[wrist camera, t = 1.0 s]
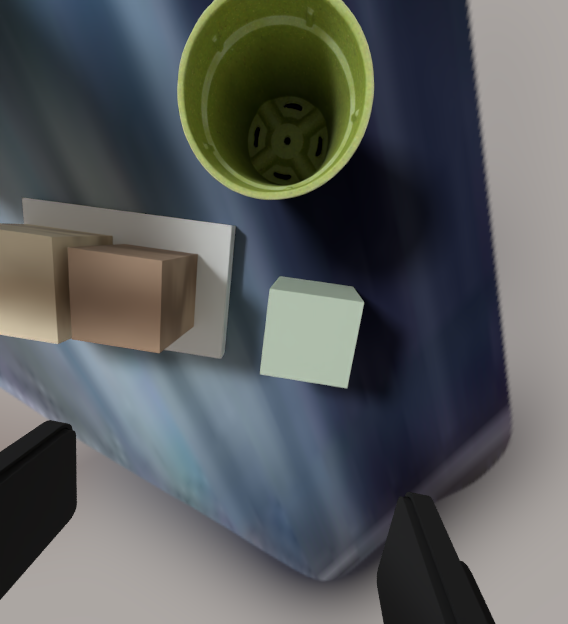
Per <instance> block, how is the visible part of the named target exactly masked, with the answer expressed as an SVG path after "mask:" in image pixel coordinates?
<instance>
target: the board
mask: <svg viewBox="0 0 568 624" xmlns="http://www.w3.org/2000/svg"><path fill="white" fill-rule="evenodd" d="M22 205H23V218H24V224H31V225H38V226H45V227H53V228H60V229H67V230H74V231H81V232H89V233H96V234H103V235H110V236H113V245H115V244H129V245H136V246H143V247H150V248H157V249H164V250H172V251H179V252H186V253H193V254H198V262H197V280H196V297H195V315H194V327H193V328H191V329H190V330H189V331H187V332H186V333H185V334H184V335H182V336H181V337H180V338H179V339H177V340H176V341H175V342H173V343H172V344H171V345H170V346H168V347H167V348H166V349H164V350H169V351H175V352H181V353H187V354H194V355H200V356H206V357H213V358H219V359H221V358H222V357H223V355H224V354H225V344H226V332H227V321H228V309H229V298H230V286H231V274H232V263H233V251H234V239H235V228H236V226H232V225H225V224H217V223H210V222H202V221H195V220H188V219H180V218H173V217H165V216H158V215H150V214H143V213H135V212H128V211H120V210H113V209H105V208H98V207H91V206H83V205H76V204H68V203H61V202H53V201H46V200H38V199H30V198H22Z"/></svg>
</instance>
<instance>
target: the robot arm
mask: <svg viewBox="0 0 568 624" xmlns="http://www.w3.org/2000/svg"><path fill="white" fill-rule="evenodd" d="M76 505H77V488H76V433H75V431H73V430H72V426H71V425H70V424H67V423H62V422H57V421H52V420H49V421H46V422H44V423H42V424H41V425H39V426H38V427H36V428H35V429H34V430H32V431H30V432H29V433H28V434H26V435H25V436H23V437H22V438H20V439H19V440H17V441H16V442H14V443H13V444H11V445H10V446H8V447H7V448H5V449H4V450H2V451H1V452H0V600H1V598H2V597H3V596H4V595H5V594H6V593H7V592H8V590H9V589H10V588H11V587H12V586H13V585H14V583H15V582H16V581H17V580H18V579H19V578H20V577H21V575H22V574H23V573H24V572H25V571H26V570H27V569H28V567H29V566H30V565H31V564H32V563H33V562H34V561H35V559H36V558H37V557H38V556H39V555H40V554H41V553H42V551H43V550H44V549H45V548H46V547H47V546H48V545H49V543H50V542H51V541H52V540H53V539H54V537H56V535H57V534H58V533H59V532H60V531H61V530H62V529H63V527H64V526H65V525H66V524H67V523H68V522H69V520H70V519H71V518H72V516H73V514H74V512H75V510H76ZM377 588H378V594H379V599H380V605H381V610H382V616H383V622H384V624H495V622H494V620H493V618H492V616H491V613H490V611H489V609H488V607H487V605H486V603H485V600H484V598H483V596H482V594H481V592H480V590H479V588H478V585H477V583H476V581H475V579H474V577H473V575H472V573H471V571H470V570H469V568H468V566H467V565H466V564H465V563H464V562H463V561H460V560H459V558H458V556H457V553H456V551H455V549H454V547H453V544H452V542H451V540H450V538H449V536H448V534H447V531H446V529H445V527H444V525H443V522H442V520H441V518H440V516H439V513H438V511H437V509H436V507H435V504H434V502H433V500H432V499H431V497H429V496H426V495H421V494H416V493H411V492H407V493H406V495H405V497H399V499H398V501H397V505H396V508H395V512H394V515H393V519H392V522H391V526H390V529H389V533H388V536H387V540H386V543H385V547H384V550H383V553H382V558H381V561H380V564H379V567H378V572H377Z"/></svg>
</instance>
